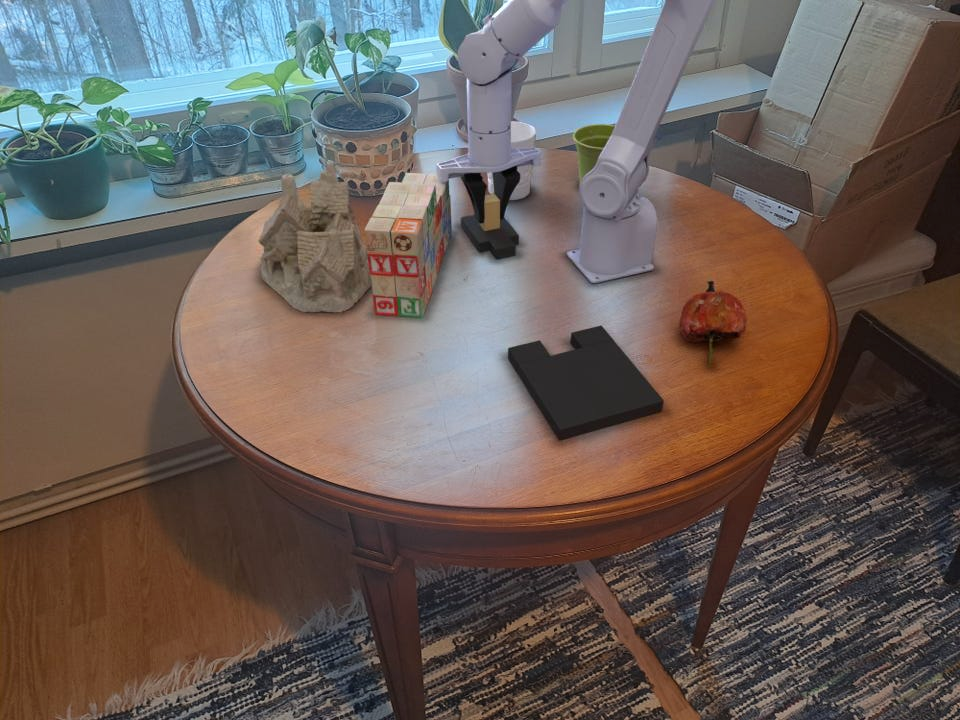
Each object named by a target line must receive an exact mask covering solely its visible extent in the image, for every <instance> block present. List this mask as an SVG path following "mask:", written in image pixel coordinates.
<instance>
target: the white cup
mask: <svg viewBox="0 0 960 720" xmlns="http://www.w3.org/2000/svg"><path fill="white" fill-rule="evenodd" d="M536 139H537V129H536V128H535V127H534V126H533V125H531V124H529V123H526V122H523V121H522V122H521V121H516V120H511V148H532V147H536ZM533 170H534V166H533V165H526V166H520V167H517V171H518V172H519V173H520V182H519V183H518V185H517V186H516V188H515V189H514V191H513V193H512V195H511V197H510V199H509V201H517V200H521V199H525V198H526V197H527V196H528V195H530V191H531V185H532V184H531V182H532V177H533ZM486 175H487V189H488V191H487V192H488V194H492V193H494V183H493V174H492V173H486Z"/></svg>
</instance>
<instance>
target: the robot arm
mask: <svg viewBox="0 0 960 720" xmlns="http://www.w3.org/2000/svg"><path fill="white" fill-rule="evenodd" d="M716 1H717V0H664V4H663V6H662V8H661V11H660V13H659V16H658V18H657V20H656V23H655V26H654V28H653V31H652V33H651V36H650V38H649V41H648V43H647V46H646V48H645V50H644V53H643V56H642V58H641V61H640V63H639V66H638V68H637V70H636V73H635V76H634V78H633V81H632V83H631V84H630V85H631V86H630V88H629V91H628V93H627V95H626V98H625V100H624V103H623V106H622V108H621V110H620V112H619V115H618V117H617V119H616V123H615V124H614V125H615V128H614V130H613V133H612V135H611V137H610V139H609V140H608V142H607V144H606V146H605V147H604V149H603V151H602V153H601V154H600V156H599V158H598V161H597V163H596V165H595V167H594V168H593V169H592V170H591V171H590V172H588V173H587V174H586V175H585V176H584V177H583V179H582V181H581V183H580V182H579V186H578V195H579V196H578V197H579V199H580V202H581V204H582V205H583V206H582V207H583V208H582V218H581V228H580V229H581V231H580V241H579V248H578V249H573V250H569V251H567V252H566V257H568V258H569V260H570V261H571V262H572V263H573V264H574V265H575V267H577V269H578V270H579V271H580V273H582V274H583V275H584V277H585V278H586V279H587V280H588V281H589V282H590V283H591V284H598V283H602V282H607V281H612V280H616V279H621V278H624V277H629V276H633V275H638V274H642V273H645V272H652V271H654V268H655V265H653V264H652V260H653V254H654V248H655V243H656V237H657V232H658V231H657V230H658V216H657V212H656V209H655V207H654V205H653V203H652V201H651V200H649V199H648V198H647V197H643V196H642V197H640V194H639V188H640V187H641V186H642V185H643V184H644V183H645V181H646V180H647V178H648V176H649V174H650V173H649V172H650V162H649V160H650V154H651V152H652V150H653V147H654V138H655V136H656V134H657V132H658V130H659V127H660V125H661V123H662V121H663V118H664V116H665V114H666V112H667V110H668V108H669V105H670V103H671V101H672V99H673V96H674V94H675V91H676V89H677V87H678V85H679V83H680V81H681V78H682V76H683V74H684V72H685V69H686V67H687V65H688V63H689V61H690V58H691V56H692V54H693V52H694V50H695V48H696V45H697V43H698V41H699V39H700V36H701V34H702V31H703V30H704V27H705V25H706V23H707V21H708V19H709V16H710V14H711V12H712V9H713V7H714V6H715V2H716ZM566 2H568V0H507V2H505V3H504V4H503V5H502V6H501V7H500V8H499V9H498V10H497V11H496V12H495V13H494V14H493V13H489V14H486V16H485V17H484V18H483V19H482V23H483V24H484V25H483V27H482V28H481V29H479V30H478V31H474V32H472V33H469V34H467V35H465V37H464V39H463V41H462V42H461V44H460V45H459V47H458V52H457V63H458V67H459V69H460V71H461V73H462V74H463V76H464V77H466V112H467V119H466V120H467V151H468V152H467V153H464V154H462V155H460V156H456V157H453V158H451V159H449V160H445V161H441V162H436V164H435V165H436V174H437V177H438V179H439V180H440V181H441V182H446V181H448V179H449V180H450V179H456V178H460V179H461V181H462V183H463V185H464V188H465V189H466V192H467V193H468V196H469V199H470V203H471V206H472V209H473V215H475V218H476V220H477V221H478V222H479V224H481V223H484V220H485V210H484V201H485V195H486V192H487V189H488V184H486V182H485V181H484V179H483V178H484V177H483V176H482V174H487V173H492V174H493V183H494V194H495V195H496V196H497V197H498V199H499V200H500V220H502V219H504V218H505V214H506V211H507V207H508V204H509V202H510V200H509V199H510V197H511V195H512V193H513V191H514V189H515V188H516V186H517V185H518V183H519V182H520V173H519V172H518V171H517V167H520V166H526V165H533V167H539V166H541V165H542V164H541V163H542V152H541V151H540V149H539V148H538V147H536V146H535V147H532V148H511V121H512V96H513V95H512V91H513V90H512V89H513V87H512V86H513V85H512V84H513V83H512V82H513V81H512V79H513V70H514V69H515V67H516V66H517V64H518V63H519V61H520V59H521V58H523V57H524V56H525V55H526V54H527V53H528V52H529V51H530V50H532V49H533V47H535V46H536V45H537V44H539V42H541V41H542V40H543V39H544V38H545V37H546V36H547V35H548V34H550V33H551V32H552V31H553V30H554V29H555V28H556V27H558V25H559V24H560V21H561V15H562V7H563V5H564V4H565V3H566Z"/></svg>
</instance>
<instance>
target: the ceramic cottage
mask: <svg viewBox="0 0 960 720" xmlns="http://www.w3.org/2000/svg"><path fill="white" fill-rule="evenodd" d="M325 167H326V168H323V169H322V170H321V172H320V176H319V179H318V180H310V181H309V182H310V183H309V184H310V185H309V186H310V188H309V194H310V195H309V196H310V206H309V207H308V206H307V205H306V204H305V203H304V202H303V201H301V200H300V199H299V192H298V188H297V183H296V180H295V177H294V175H293V174H291V173H284V174H282V175H281V179H280V180H281V181H280V182H281V183H280V184H281V191H282V196H283V197H281V199H280V201H279V204H278V207H277V208H276V209H275V210H274V212H273V214H272V215H271V216H270V217H269V218H268V219H267V221H265V222H264V226H263V229H262V232H261V234H260V236H259V238H258V239H257V240H258V243H259V244H260V245H261V246H262V247H263V253H262V254H261V257H260V261H261V262H260V277H261V280H262V281H264V283H265V284H266V285H268V287H270V288H271V289H272V290H273V291H274V292H275V293H277V294H278V295H279V296H281V298H283V299H284V300H285V301H286V302H287V303H288V304H289V305H290V306H291V308H293V309H295V310H298V311H300V312H301V313H311V314H312V313H314V314H315V313H316V312H317V313H320V312H327V313H333V314H334V313H335V314H336V313H343V312H346V311H348V310H350V309H351V308H352V307H354V306H355V304H357V303H358V302H359V300H360V299H362V297H363V296H364V294H365V293H366V292H367V291H368V290H369V289H370V288H372V283H371V277H370V272H369V265H368V256H367V253H368V252H367V246H366V244H365V243H364V241H363V238H362V232H361V230H360V228H359V226H358V224H357V223H356V222H355V219H356V214H355V212H354V210H353V206H352V200H351V195H350V192H349V184H348V182H347V181H340V182H339V178H338V176H337V173H336V170H335V163H334V161H331V160H327V161H326V165H325Z"/></svg>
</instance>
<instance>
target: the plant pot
mask: <svg viewBox="0 0 960 720" xmlns="http://www.w3.org/2000/svg"><path fill="white" fill-rule="evenodd" d="M615 125H616V124H607V123H606V124H605V123H593V124H588V125H585V126H581V127H578V128H577V129H575V131H574V132H573V134H572V139H573V141H574V142H575V148H576V153H577V162H578V177H579V178H578V179H579V184H580V183H581V181H582V179H583V177H584V176H585V175H586V174H587V173H588V172H590V171H591V170H592V169H593V168H594V167H595V165H596V163H597V161H598V158H599V156H600V154H601V153H602V151H603V149H604V147H605V146H606V144H607V142H608V140H609V139H610V137H611V135H612V133H613V130H614V128H615Z"/></svg>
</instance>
